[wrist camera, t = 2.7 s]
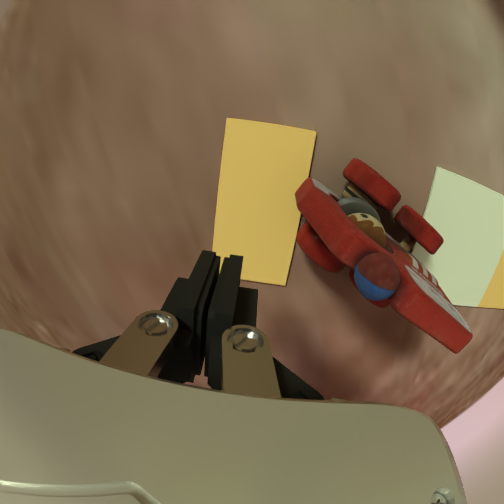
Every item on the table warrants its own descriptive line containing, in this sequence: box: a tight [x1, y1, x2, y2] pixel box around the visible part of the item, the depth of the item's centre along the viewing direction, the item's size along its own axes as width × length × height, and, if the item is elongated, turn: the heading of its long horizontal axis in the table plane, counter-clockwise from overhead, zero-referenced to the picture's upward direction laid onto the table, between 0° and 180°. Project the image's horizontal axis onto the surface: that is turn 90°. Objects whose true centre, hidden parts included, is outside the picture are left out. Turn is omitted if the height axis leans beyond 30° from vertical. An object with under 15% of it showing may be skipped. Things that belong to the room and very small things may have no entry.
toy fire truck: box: [295, 158, 473, 354], centre depth 15 cm, size 7×12×10 cm, turn 56°
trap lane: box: [212, 118, 504, 309], centre depth 20 cm, size 12×35×1 cm, turn 82°
